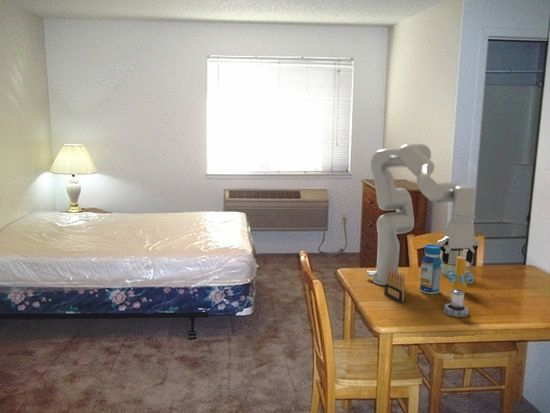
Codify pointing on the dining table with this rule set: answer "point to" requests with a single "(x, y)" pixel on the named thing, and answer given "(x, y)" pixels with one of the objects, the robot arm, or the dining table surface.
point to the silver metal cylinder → (457, 299)
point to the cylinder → (460, 275)
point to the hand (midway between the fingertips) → (457, 262)
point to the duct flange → (456, 311)
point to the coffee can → (451, 261)
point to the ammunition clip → (395, 286)
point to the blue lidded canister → (431, 269)
